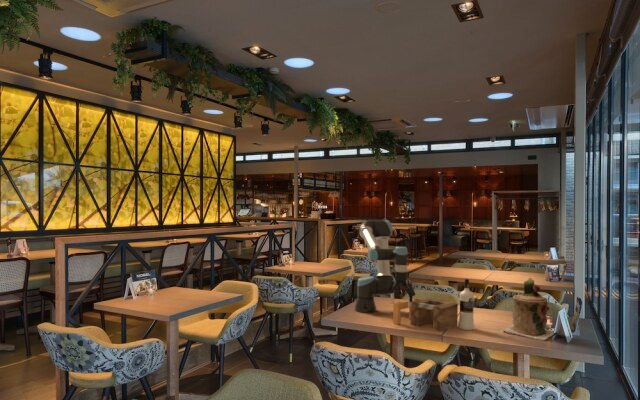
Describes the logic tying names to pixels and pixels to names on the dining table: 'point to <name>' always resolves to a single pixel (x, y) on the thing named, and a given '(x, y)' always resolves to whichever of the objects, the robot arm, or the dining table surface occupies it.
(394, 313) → the wooden u-shaped block
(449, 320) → the dark wooden box
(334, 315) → the dining table surface
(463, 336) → the dining table surface
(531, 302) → the cookie jar
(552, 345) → the dining table surface
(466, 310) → the vodka
